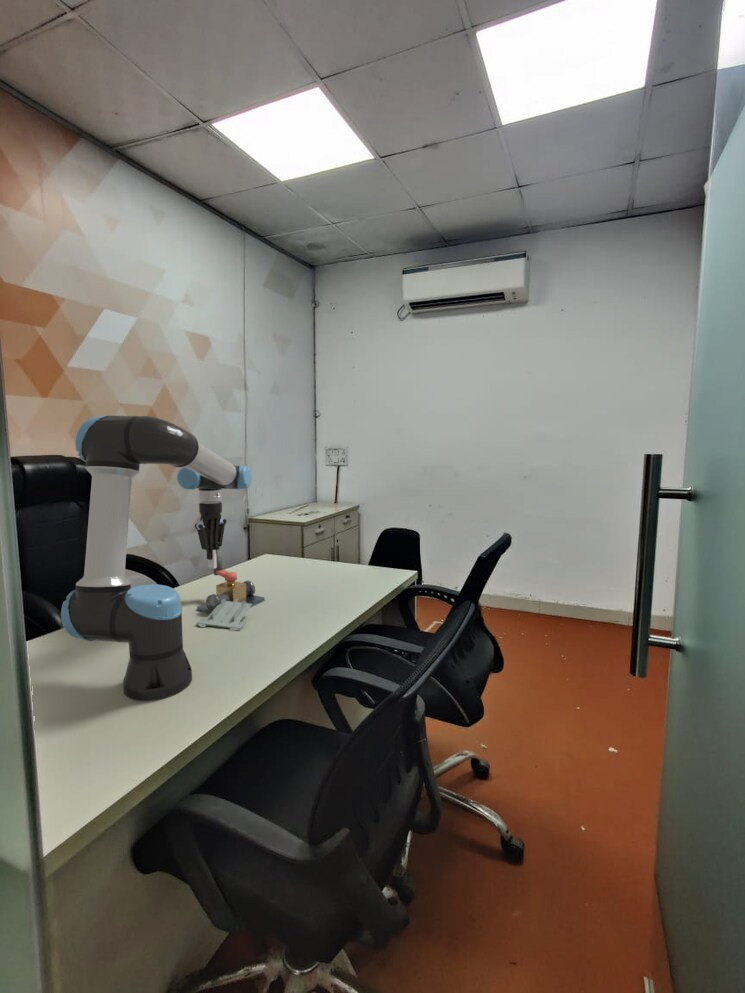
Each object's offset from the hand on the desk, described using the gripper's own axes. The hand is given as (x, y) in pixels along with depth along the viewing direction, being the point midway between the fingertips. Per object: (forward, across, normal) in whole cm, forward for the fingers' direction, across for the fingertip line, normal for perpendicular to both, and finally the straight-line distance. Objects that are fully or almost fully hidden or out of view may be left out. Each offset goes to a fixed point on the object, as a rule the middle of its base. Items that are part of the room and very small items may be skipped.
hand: (212, 567), depth 171 cm
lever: (+3, +1, -5) cm, 6 cm away
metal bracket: (+12, -11, -18) cm, 24 cm away
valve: (+12, 0, -9) cm, 15 cm away
